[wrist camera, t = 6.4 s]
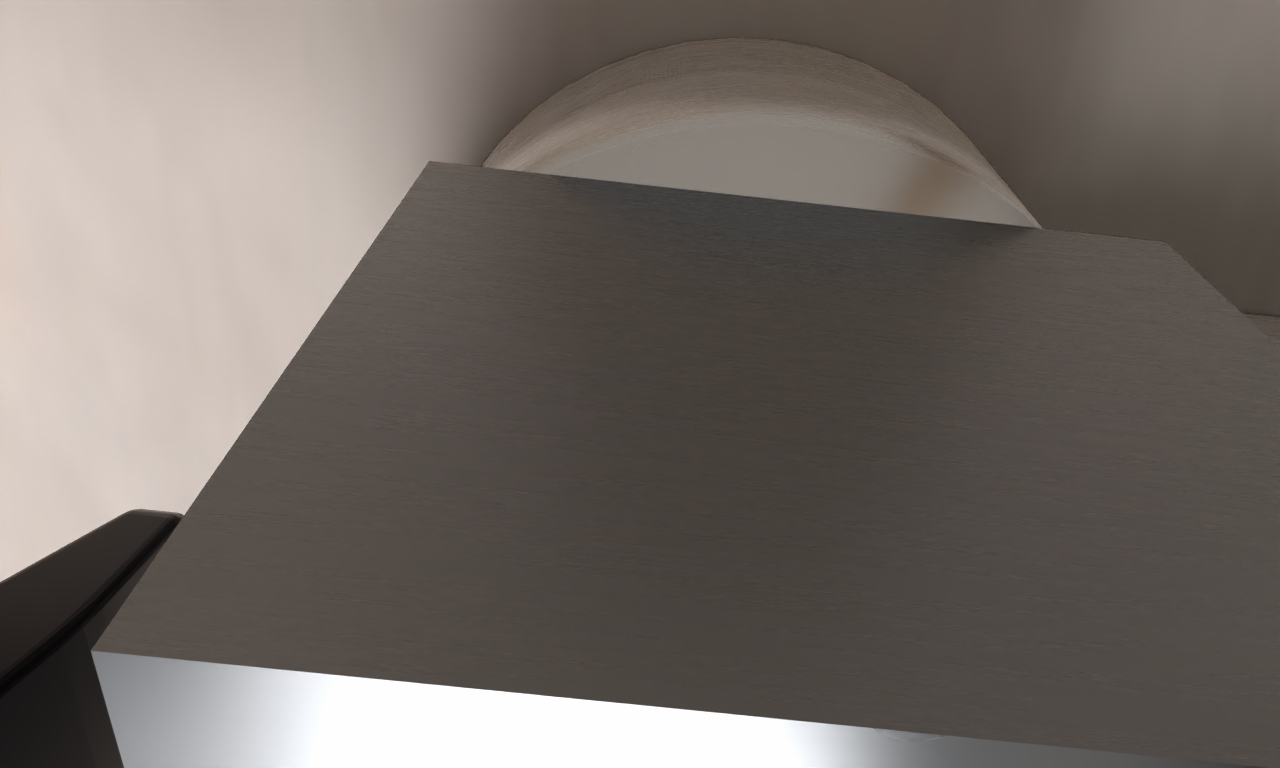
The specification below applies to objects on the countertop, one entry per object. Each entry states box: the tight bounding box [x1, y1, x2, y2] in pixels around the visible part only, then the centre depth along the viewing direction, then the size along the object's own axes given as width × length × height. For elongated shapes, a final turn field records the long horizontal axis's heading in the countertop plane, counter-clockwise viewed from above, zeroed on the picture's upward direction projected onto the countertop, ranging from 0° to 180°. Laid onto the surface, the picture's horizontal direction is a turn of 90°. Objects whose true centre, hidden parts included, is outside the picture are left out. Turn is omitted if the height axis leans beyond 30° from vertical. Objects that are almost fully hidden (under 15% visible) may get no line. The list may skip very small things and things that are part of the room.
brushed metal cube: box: [91, 161, 1280, 768], centre depth 7 cm, size 6×6×5 cm
